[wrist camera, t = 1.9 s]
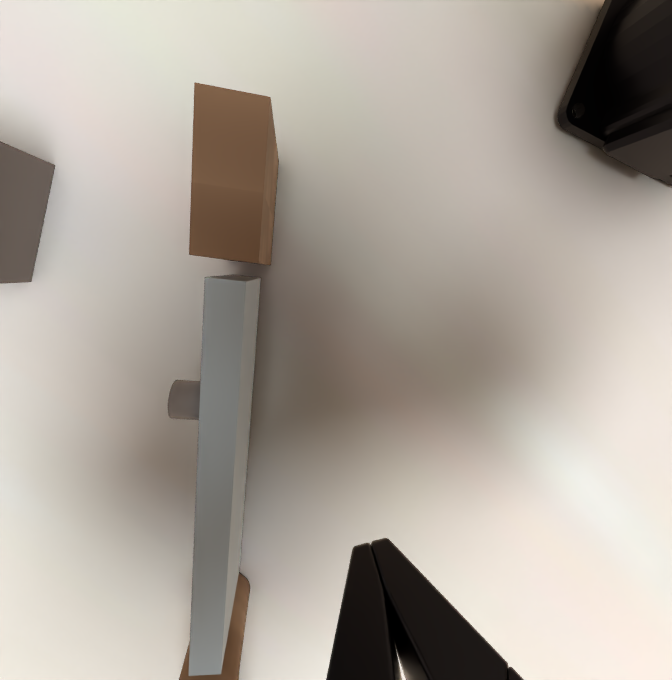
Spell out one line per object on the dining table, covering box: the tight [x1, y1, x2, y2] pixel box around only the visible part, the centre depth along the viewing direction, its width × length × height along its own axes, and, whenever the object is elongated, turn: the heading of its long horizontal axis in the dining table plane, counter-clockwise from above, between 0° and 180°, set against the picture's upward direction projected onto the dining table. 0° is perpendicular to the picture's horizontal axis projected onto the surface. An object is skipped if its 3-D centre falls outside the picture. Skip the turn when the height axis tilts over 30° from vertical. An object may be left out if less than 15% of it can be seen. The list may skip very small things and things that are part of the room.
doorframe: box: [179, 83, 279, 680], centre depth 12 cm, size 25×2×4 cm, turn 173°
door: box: [168, 275, 261, 676], centre depth 11 cm, size 13×2×4 cm, turn 173°
